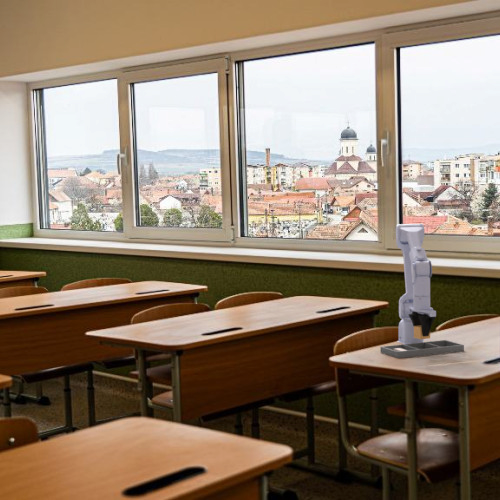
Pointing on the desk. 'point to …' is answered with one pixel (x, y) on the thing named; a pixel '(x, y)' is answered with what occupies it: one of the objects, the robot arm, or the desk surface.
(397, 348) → the eraser
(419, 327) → the letter cube
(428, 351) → the organizer
